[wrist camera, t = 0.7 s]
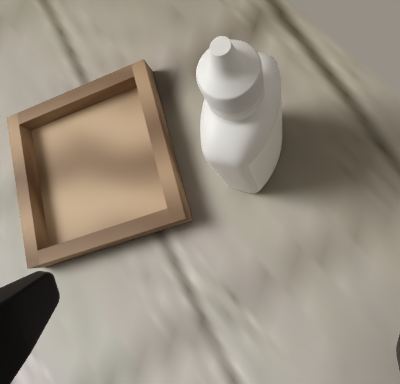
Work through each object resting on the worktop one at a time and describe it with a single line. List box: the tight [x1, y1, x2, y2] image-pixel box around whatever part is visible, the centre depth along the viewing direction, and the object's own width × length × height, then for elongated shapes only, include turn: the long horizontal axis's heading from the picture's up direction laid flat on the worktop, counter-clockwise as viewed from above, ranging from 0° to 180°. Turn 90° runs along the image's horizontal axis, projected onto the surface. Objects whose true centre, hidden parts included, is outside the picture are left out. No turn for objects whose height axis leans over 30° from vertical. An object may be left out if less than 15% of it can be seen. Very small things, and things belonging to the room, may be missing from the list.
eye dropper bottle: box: [196, 36, 282, 193], centre depth 16 cm, size 4×6×12 cm
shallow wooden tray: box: [7, 59, 192, 268], centre depth 24 cm, size 12×12×2 cm
